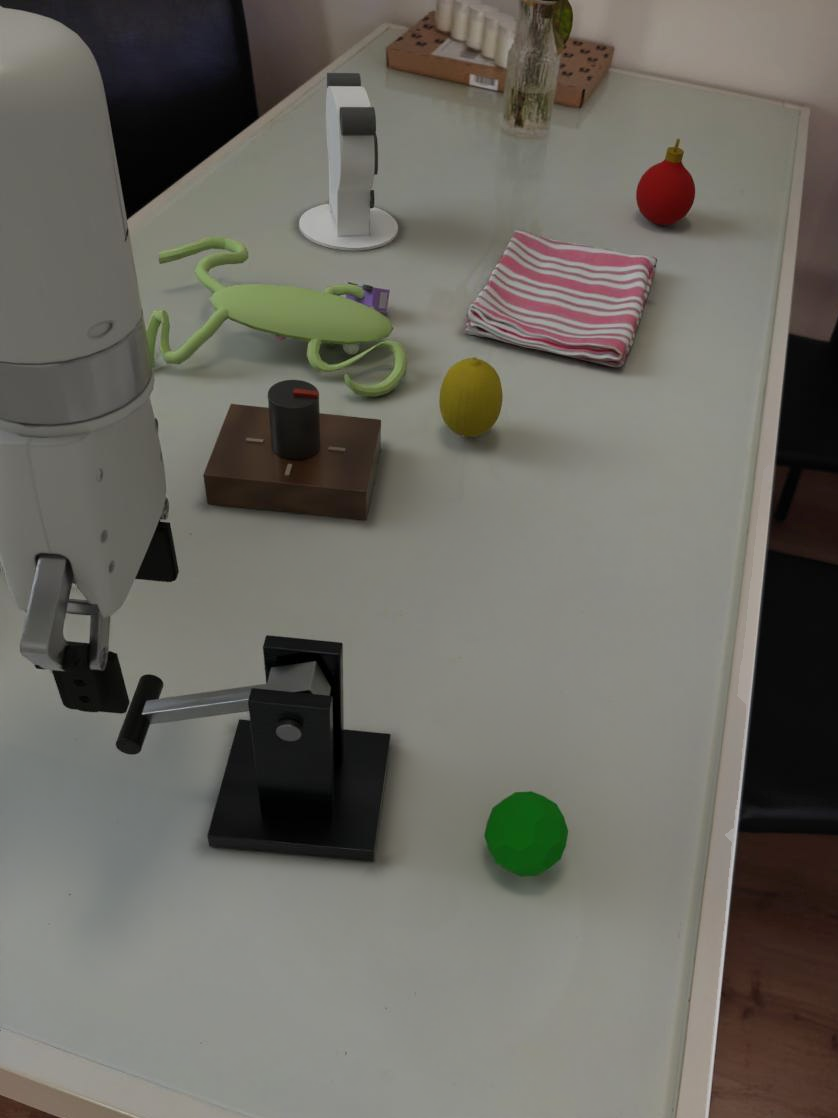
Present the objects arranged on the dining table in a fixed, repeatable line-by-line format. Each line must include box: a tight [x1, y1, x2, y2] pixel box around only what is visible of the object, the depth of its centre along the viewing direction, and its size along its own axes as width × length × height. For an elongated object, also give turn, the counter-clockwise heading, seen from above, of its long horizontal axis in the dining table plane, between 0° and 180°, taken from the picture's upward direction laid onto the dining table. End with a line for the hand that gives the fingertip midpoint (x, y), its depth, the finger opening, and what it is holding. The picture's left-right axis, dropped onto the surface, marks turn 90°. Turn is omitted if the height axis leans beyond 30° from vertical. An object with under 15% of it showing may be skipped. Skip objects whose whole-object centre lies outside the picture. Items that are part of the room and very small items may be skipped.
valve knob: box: [267, 379, 321, 460], centre depth 83 cm, size 4×4×5 cm
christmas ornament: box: [635, 138, 696, 226], centre depth 124 cm, size 7×7×10 cm
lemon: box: [438, 357, 504, 439], centre depth 90 cm, size 6×6×8 cm
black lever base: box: [206, 634, 392, 863], centre depth 61 cm, size 10×9×12 cm
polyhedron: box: [483, 790, 569, 877], centre depth 62 cm, size 5×5×5 cm
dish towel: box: [464, 229, 658, 368], centre depth 110 cm, size 17×23×4 cm
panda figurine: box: [298, 72, 399, 252], centre depth 113 cm, size 12×11×15 cm
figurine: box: [146, 236, 408, 398], centre depth 100 cm, size 18×27×6 cm
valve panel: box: [202, 403, 382, 521], centre depth 86 cm, size 13×10×3 cm
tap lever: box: [115, 661, 331, 756], centre depth 59 cm, size 12×5×2 cm, turn 87°
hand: (125, 637), depth 55 cm, fingers open, 9 cm apart
